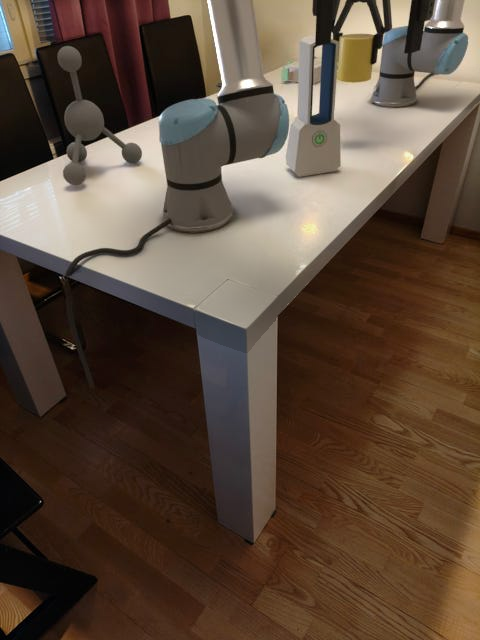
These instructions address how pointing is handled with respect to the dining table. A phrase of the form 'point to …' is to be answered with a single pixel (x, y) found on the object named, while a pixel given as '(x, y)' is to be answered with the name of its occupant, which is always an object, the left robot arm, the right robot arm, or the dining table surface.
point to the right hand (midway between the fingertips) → (355, 62)
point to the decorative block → (292, 71)
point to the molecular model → (85, 123)
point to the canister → (355, 57)
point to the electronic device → (315, 130)
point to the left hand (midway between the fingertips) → (364, 47)
